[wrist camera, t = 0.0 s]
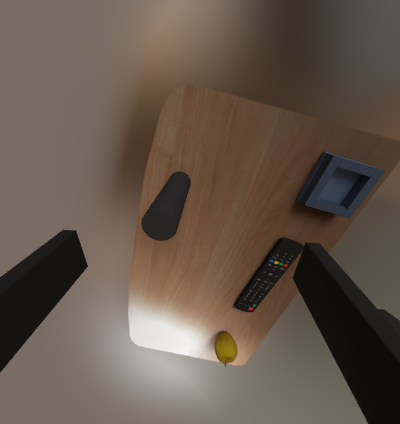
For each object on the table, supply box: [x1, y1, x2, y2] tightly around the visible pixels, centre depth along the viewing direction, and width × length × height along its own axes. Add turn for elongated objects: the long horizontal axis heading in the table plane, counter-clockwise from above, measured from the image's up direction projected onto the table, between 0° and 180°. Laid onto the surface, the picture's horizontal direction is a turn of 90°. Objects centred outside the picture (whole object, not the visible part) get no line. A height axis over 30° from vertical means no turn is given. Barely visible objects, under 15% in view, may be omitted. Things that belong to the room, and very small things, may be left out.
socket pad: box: [297, 152, 385, 218], centre depth 32 cm, size 9×9×3 cm
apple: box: [215, 331, 237, 366], centre depth 53 cm, size 6×6×8 cm
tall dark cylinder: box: [142, 172, 190, 241], centre depth 27 cm, size 4×4×16 cm
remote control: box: [234, 238, 304, 312], centre depth 44 cm, size 5×24×1 cm, turn 160°
